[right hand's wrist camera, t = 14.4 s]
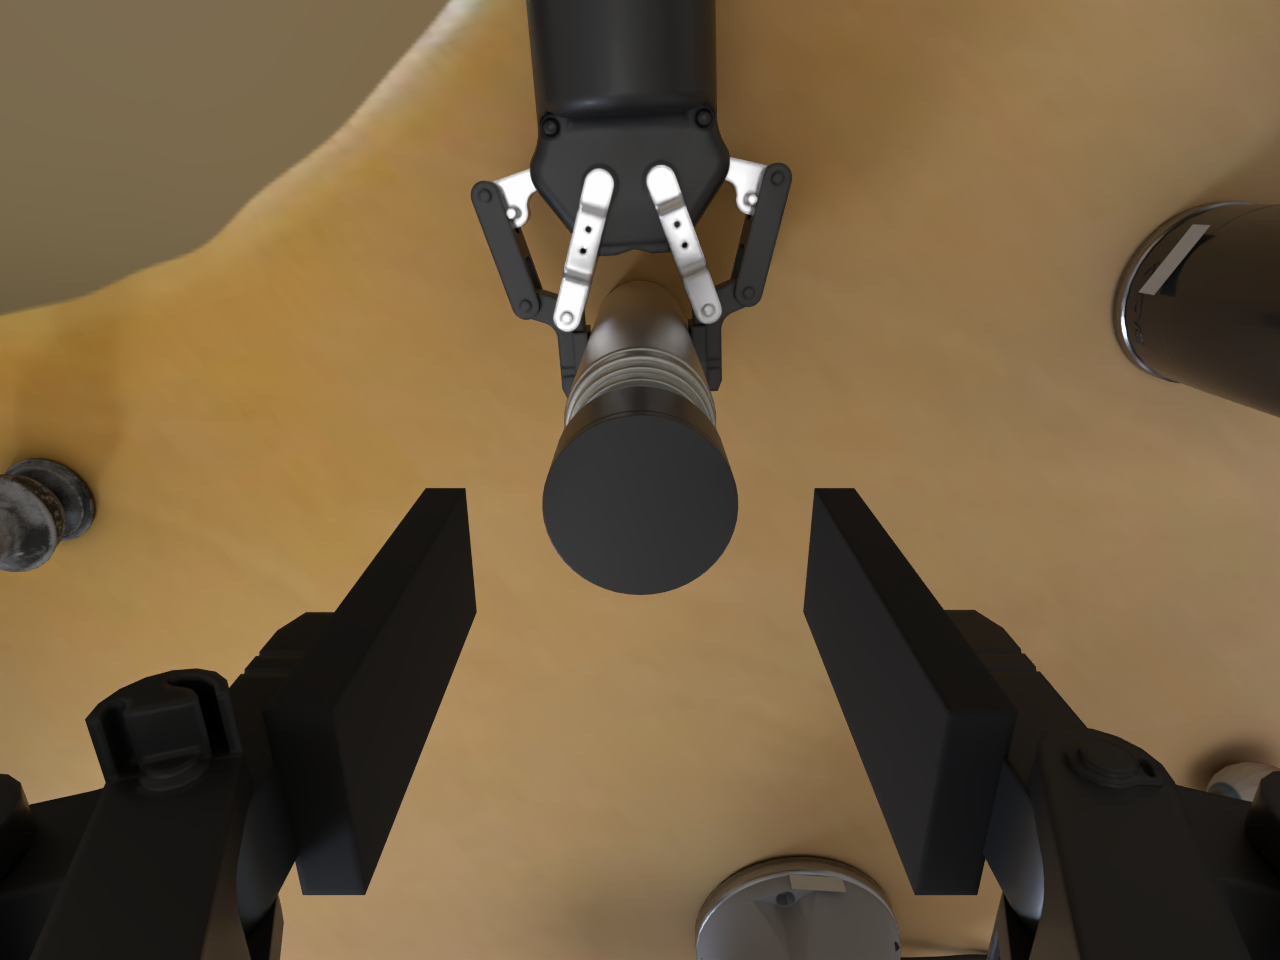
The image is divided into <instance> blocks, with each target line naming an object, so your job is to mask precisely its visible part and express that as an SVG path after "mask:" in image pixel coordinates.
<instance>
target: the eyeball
mask: <svg viewBox="0 0 1280 960" xmlns="http://www.w3.org/2000/svg"><path fill="white" fill-rule="evenodd" d="M1273 771H1280V769H1279V768H1277V767H1274V766H1271V765H1266V764H1261V763H1256V762H1243V763H1237V764H1232V765H1229V766H1226V767H1224V768H1223V769H1221V770H1220V771H1219V772H1217V773H1216V774H1214V776H1213V777H1212V779H1211V780H1210V782H1209V784H1208V786H1207V790H1206V792H1209V793H1214V794H1218V795H1223V796H1228V797H1232V798H1237V799H1241V800H1246V801H1251V802H1252V801H1253V799H1254V796H1255V793H1256V791H1257V788H1258V786H1259V783H1260V780H1261V779H1262V778H1264V777H1265V776H1267V775H1268V774H1270V773H1271V772H1273Z"/></svg>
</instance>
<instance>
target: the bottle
mask: <svg viewBox="0 0 1280 960" xmlns="http://www.w3.org/2000/svg"><path fill="white" fill-rule="evenodd" d="M634 386H646V387H655V388H660V389H665V390H668V391H671V392H674V393H676V394H678V395H680V396H682V397H684V398H686V399H687V400H689V401H690V402H692V403H693V404H695V405H696V406H697V407H698V408H699V409H700V410H702V411H703V412H704V414H705V415H706V416H707V417H708V418H709V419H710V421H711V422H712V424H713V425H714V427H715V428H716V411H715V405H714V401H713V398H712V395H711V392H710V389H709V386H708V383H707V381H706V378H705V375H704V372H703V370H702V367H701V364H700V361H699V359H698V356H697V353H696V350H695V348H694V345H693V342H692V339H691V337H690V334H689V331H688V328H687V326H686V323H685V320H684V317H683V315H682V312H681V309H680V307H679V305H678V302H677V301H676V299H675V298H674V297H673V295H672V294H671V293H670V292H669V291H668V290H666V289H665V288H664V287H662V286H660V285H658V284H656V283H653V282H650V281H642V280H638V281H631V282H627V283H624V284H622V285H620V286H618V287H617V288H615V289H614V290H613V291H612V292H610V293H609V294H608V296H607V297H606V298H605V300H604V301H603V303H602V305H601V307H600V310H599V312H598V315H597V318H596V321H595V324H594V326H593V329H592V332H591V335H590V337H589V340H588V343H587V346H586V348H585V351H584V354H583V357H582V360H581V362H580V365H579V368H578V371H577V373H576V376H575V379H574V382H573V384H572V387H571V390H570V393H569V396H568V399H567V402H566V407H565V418H564V423H565V425H564V429H565V427H566V426H567V424H568V423H569V421H570V420H571V419H572V418H573V416H574V415H575V414H576V413H577V412H578V411H579V410H580V409H581V408H582V407H584V406H585V405H586V404H587V403H589V402H590V401H592V400H593V399H595V398H596V397H599V396H601V395H603V394H605V393H607V392H610V391H613V390H616V389H620V388H625V387H634Z"/></svg>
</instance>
